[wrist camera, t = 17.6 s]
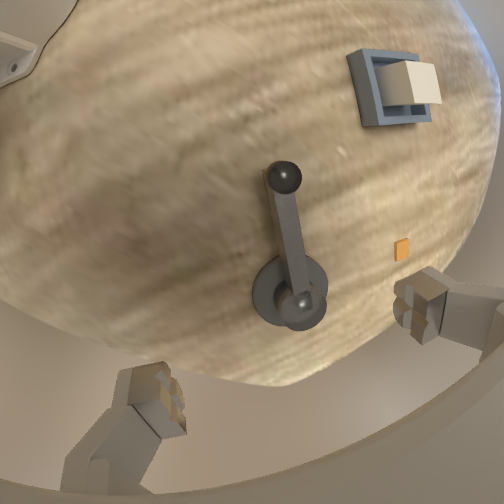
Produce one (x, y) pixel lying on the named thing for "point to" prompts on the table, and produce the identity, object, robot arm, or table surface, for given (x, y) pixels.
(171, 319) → the table surface
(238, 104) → the table surface
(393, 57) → the tray
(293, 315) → the crank arm
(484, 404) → the robot arm
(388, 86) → the cream block
